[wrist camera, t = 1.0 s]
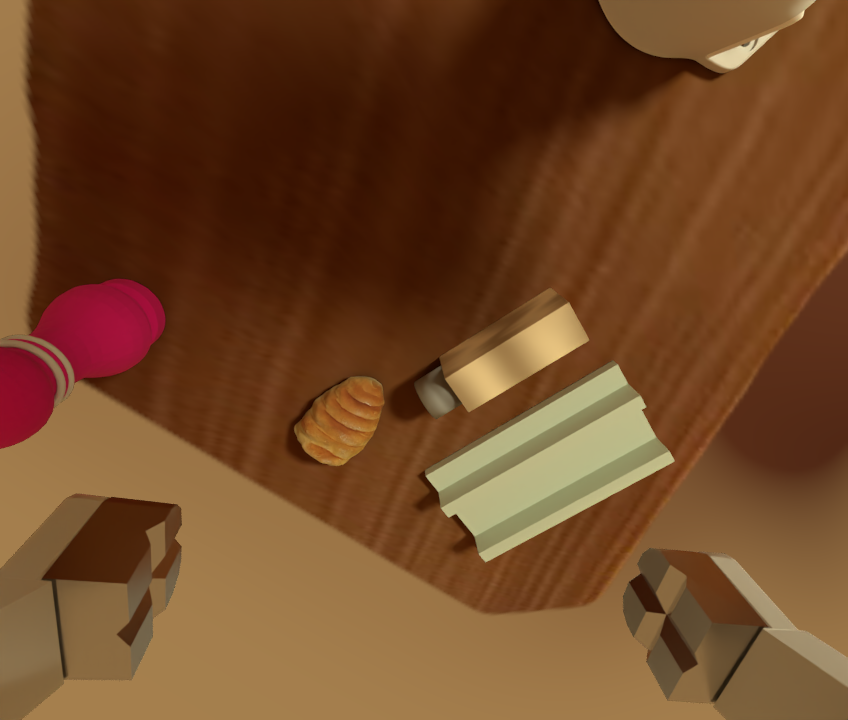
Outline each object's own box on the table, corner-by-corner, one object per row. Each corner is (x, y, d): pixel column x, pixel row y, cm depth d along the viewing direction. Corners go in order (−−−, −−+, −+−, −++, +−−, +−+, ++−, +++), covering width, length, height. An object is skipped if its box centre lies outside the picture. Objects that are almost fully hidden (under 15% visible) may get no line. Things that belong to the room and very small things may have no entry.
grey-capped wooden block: (549, 287, 44) (568, 302, 39) (568, 321, 45) (589, 340, 40) (412, 373, 46) (415, 396, 41) (435, 403, 47) (440, 429, 43)
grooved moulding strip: (613, 360, 47) (629, 375, 43) (665, 458, 52) (683, 478, 49) (424, 470, 50) (427, 491, 47) (490, 551, 55) (497, 576, 52)
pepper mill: (69, 279, 40) (-199, 381, 22) (155, 266, 40) (-41, 358, 22) (103, 357, 43) (-108, 506, 25) (183, 345, 43) (31, 485, 25)
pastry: (344, 356, 45) (341, 373, 41) (402, 393, 47) (404, 412, 43) (291, 426, 47) (284, 448, 44) (348, 459, 49) (345, 482, 46)
